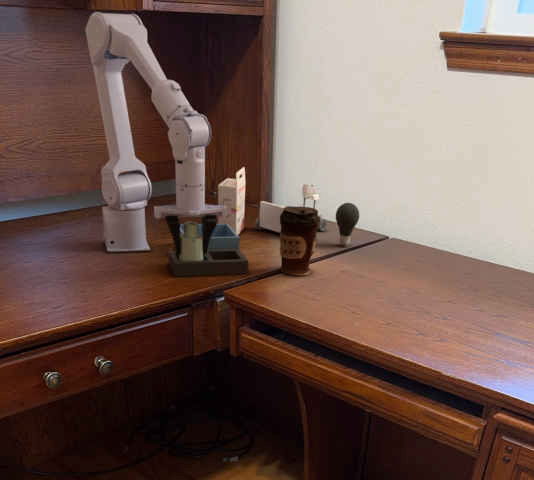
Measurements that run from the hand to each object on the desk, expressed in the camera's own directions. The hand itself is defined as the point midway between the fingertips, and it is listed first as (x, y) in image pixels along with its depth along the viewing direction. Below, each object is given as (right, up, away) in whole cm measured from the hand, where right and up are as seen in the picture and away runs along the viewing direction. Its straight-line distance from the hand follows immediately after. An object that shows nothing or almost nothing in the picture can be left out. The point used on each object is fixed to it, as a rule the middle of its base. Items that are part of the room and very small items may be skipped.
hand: (191, 252), depth 140 cm
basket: (+2, +5, +13) cm, 14 cm away
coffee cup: (+22, -3, +5) cm, 23 cm away
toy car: (+23, +17, +32) cm, 43 cm away
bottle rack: (+3, -2, +3) cm, 5 cm away
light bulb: (+35, +9, +22) cm, 42 cm away
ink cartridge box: (+7, +14, +27) cm, 31 cm away
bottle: (0, -3, +2) cm, 3 cm away
